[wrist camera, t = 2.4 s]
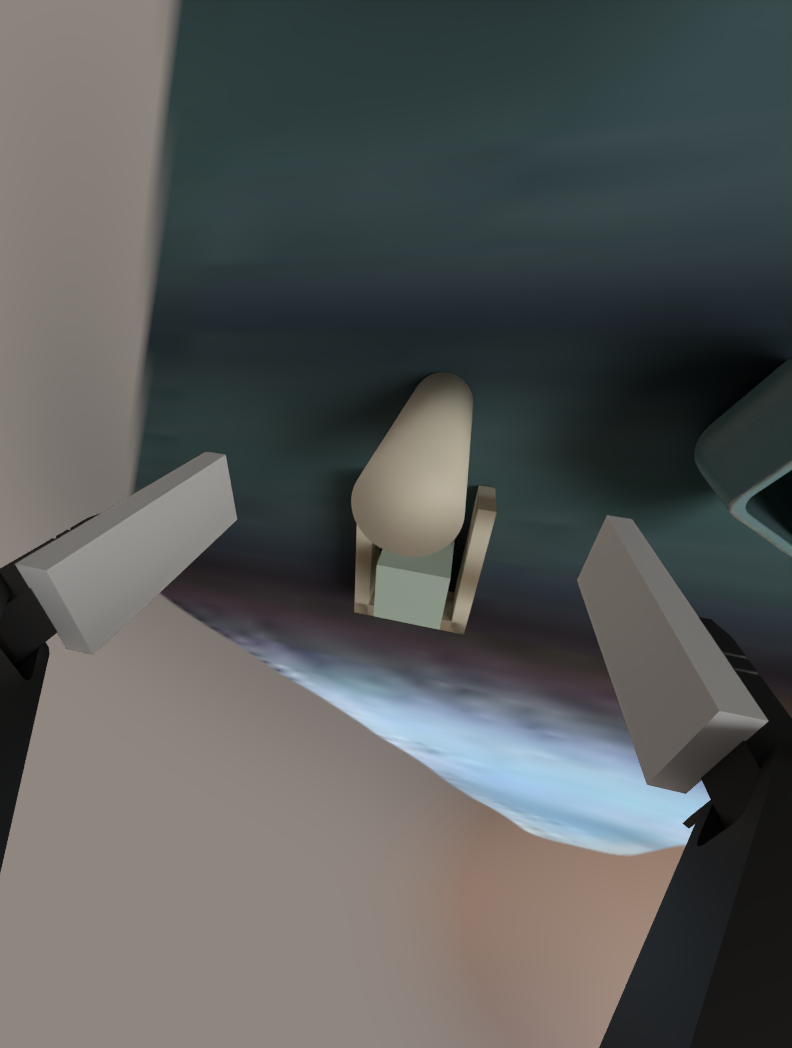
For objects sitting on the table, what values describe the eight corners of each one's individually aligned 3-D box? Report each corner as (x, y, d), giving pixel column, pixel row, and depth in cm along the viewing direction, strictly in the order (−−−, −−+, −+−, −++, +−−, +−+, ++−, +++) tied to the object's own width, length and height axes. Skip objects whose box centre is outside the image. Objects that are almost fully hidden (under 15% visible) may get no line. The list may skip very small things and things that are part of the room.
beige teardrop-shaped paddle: (407, 367, 24) (337, 445, 12) (486, 377, 23) (491, 469, 12) (389, 566, 33) (339, 718, 21) (446, 576, 32) (426, 739, 21)
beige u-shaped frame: (370, 468, 28) (357, 489, 25) (495, 488, 27) (496, 512, 24) (365, 584, 35) (354, 612, 32) (465, 604, 34) (463, 634, 31)
